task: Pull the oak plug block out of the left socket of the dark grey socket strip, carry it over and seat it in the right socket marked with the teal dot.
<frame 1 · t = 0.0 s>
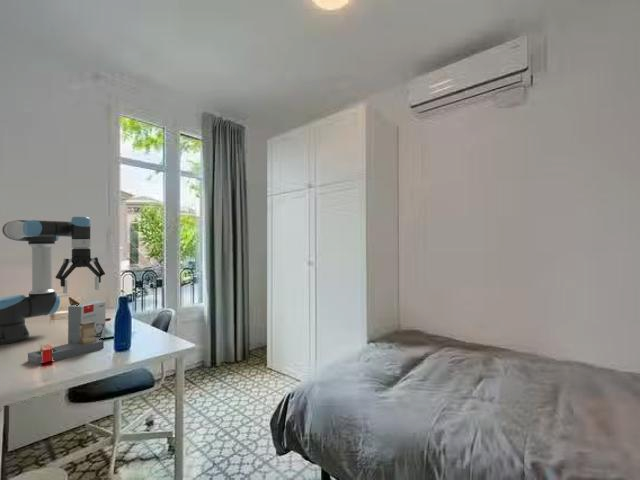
hand: (81, 291, 160), 28 cm above the table, fingers open, 13 cm apart
hard drive box: (87, 342, 171), on the table
socket strip: (67, 354, 152), on the table
plug: (87, 349, 159), resting in socket strip
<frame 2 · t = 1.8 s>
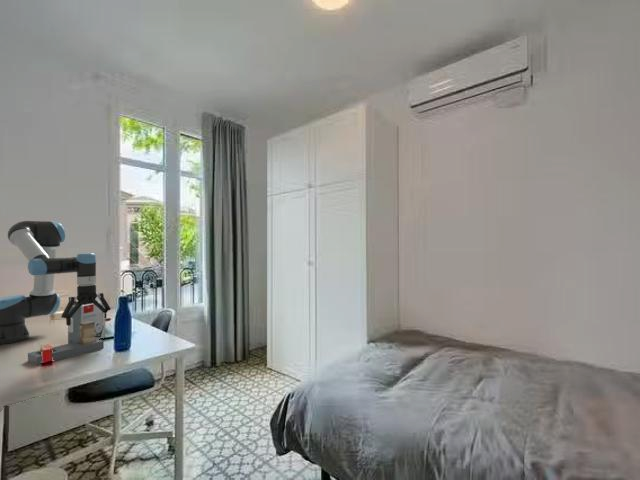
hand: (87, 328, 159), 10 cm above the table, fingers open, 13 cm apart
nothing on the table moved.
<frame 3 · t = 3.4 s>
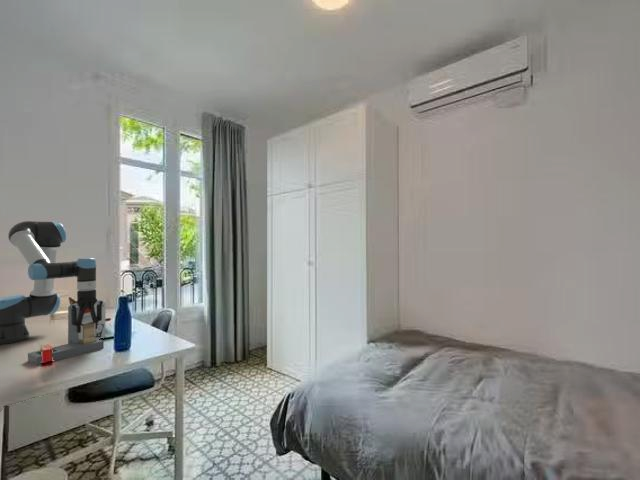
hand: (87, 337, 159), 6 cm above the table, fingers closed on plug, 5 cm apart
plug: (87, 349, 159), resting in socket strip, touching gripper
everything else where it was.
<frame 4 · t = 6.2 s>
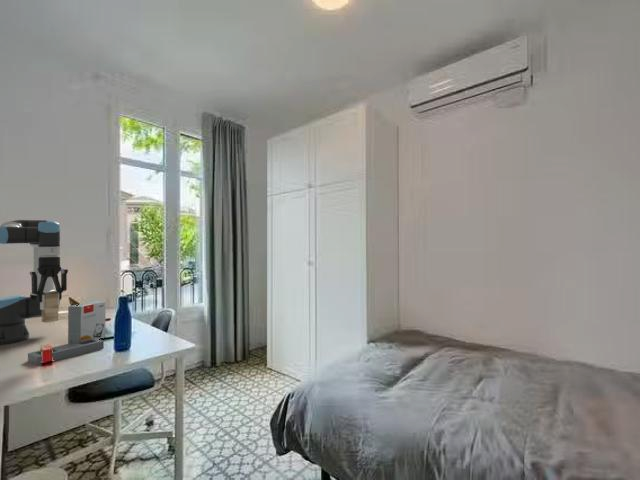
hand: (49, 308, 146), 23 cm above the table, fingers closed on plug, 5 cm apart
plug: (50, 321, 146), point 17 cm above the table, touching gripper
everything else where it was.
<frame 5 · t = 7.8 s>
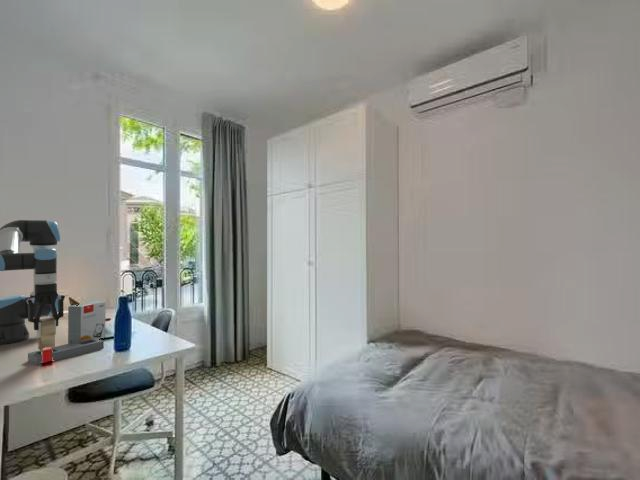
hand: (46, 335, 145), 11 cm above the table, fingers closed on plug, 5 cm apart
plug: (46, 348, 145), point 5 cm above the table, touching gripper
everything else where it was.
when the fingers open (7 cm above the table, at t = 9.2 s): plug drops 1 cm, resting in socket strip.
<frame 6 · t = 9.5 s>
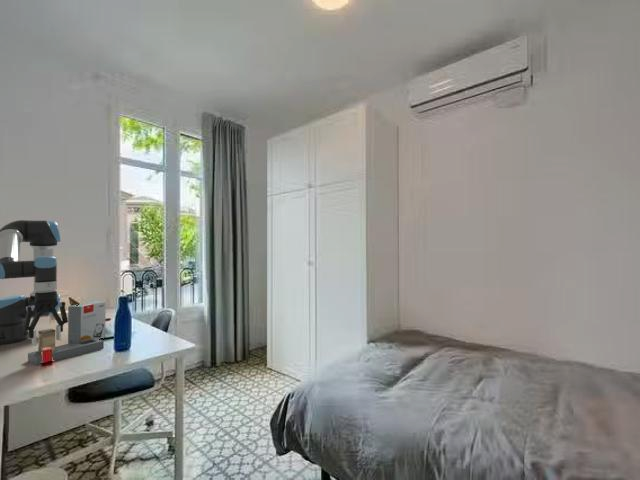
hand: (46, 342, 145), 8 cm above the table, fingers open, 8 cm apart
plug: (46, 359, 145), resting in socket strip
everything else where it was.
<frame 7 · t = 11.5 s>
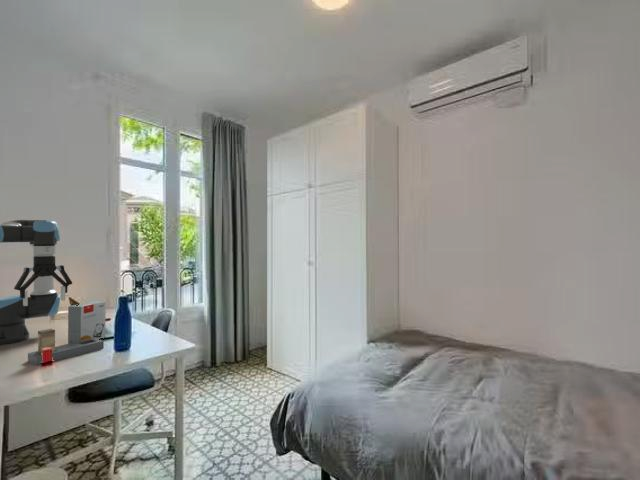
hand: (44, 303, 146), 25 cm above the table, fingers open, 13 cm apart
nothing on the table moved.
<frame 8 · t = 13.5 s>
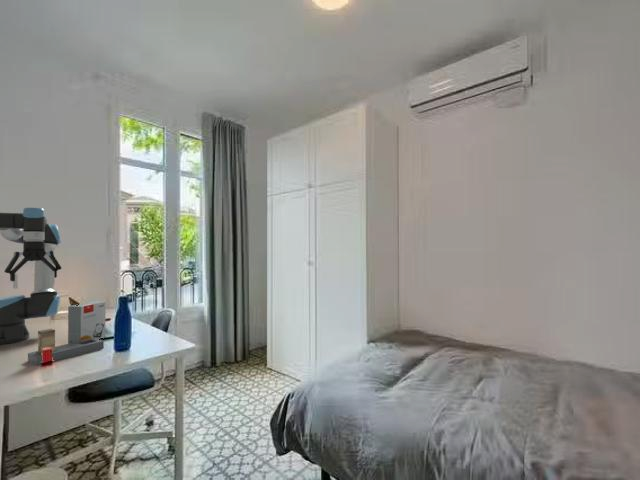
hand: (34, 286, 152), 32 cm above the table, fingers open, 13 cm apart
nothing on the table moved.
at the end: plug 0.0 cm from the target spot on the socket strip, point 0.0 cm above the socket strip's base; plug tilted 0°; the gripper is holding nothing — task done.
